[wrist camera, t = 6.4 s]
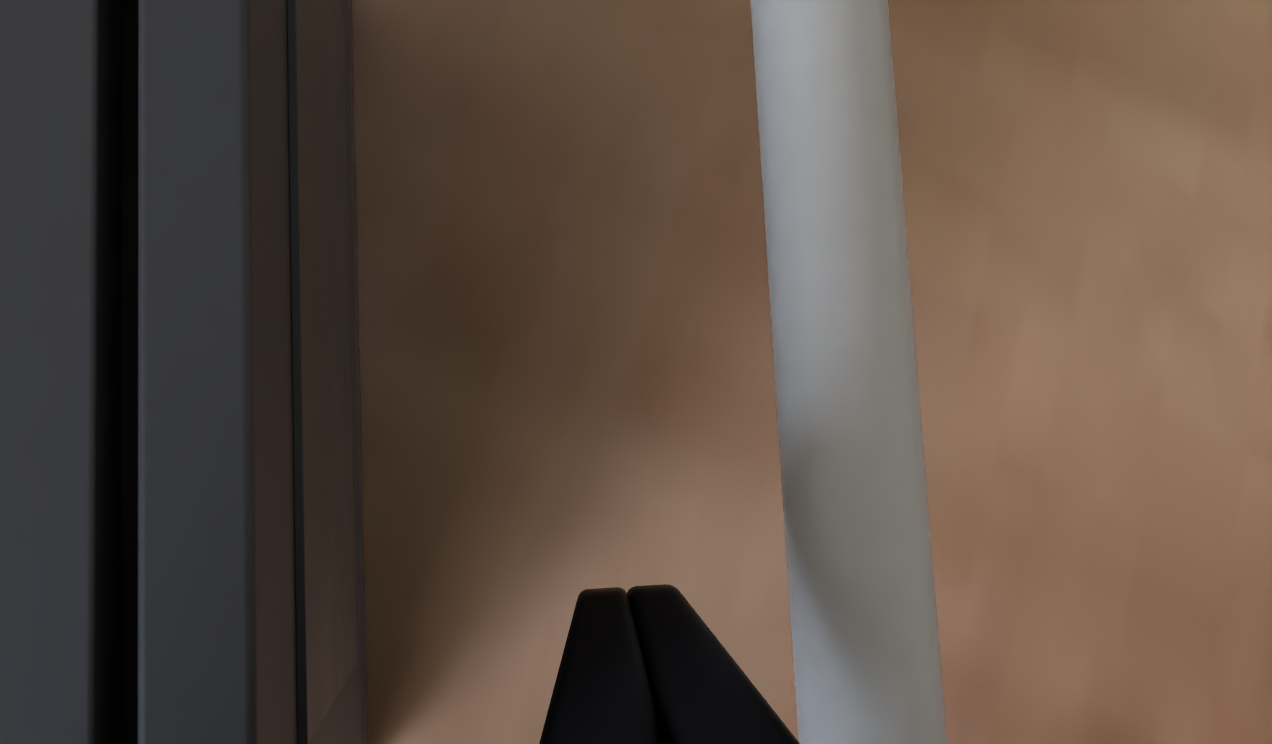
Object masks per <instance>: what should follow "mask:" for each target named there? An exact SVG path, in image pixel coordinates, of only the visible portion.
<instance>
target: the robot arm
mask: <svg viewBox="0 0 1272 744" xmlns="http://www.w3.org/2000/svg"><path fill="white" fill-rule="evenodd" d="M539 744H800V743H799V742H798V741H797V739H796V738H795V737H794V736H793V734H792V733H791V732H790V731H789V729H788V728H787V727H786V726H785V724H784V723H783V722H782V720H781V719H780V718H779V717H778V715H777V714H776V713H775V712H774V710H773V709H772V708H771V707H770V705H769V704H768V703H767V701H766V700H765V699H764V698H763V696H762V695H761V694H760V693H759V691H758V690H757V689H756V688H755V686H754V685H753V684H752V682H751V681H750V680H749V679H748V677H747V676H746V675H745V674H744V672H743V671H742V670H741V669H740V667H739V666H738V665H737V663H736V662H735V661H734V660H733V658H732V657H731V656H730V655H729V653H728V652H727V651H726V650H725V648H724V647H723V646H722V644H721V643H720V642H719V641H718V639H717V638H716V637H715V636H714V634H713V633H712V632H711V631H710V629H709V628H708V627H707V625H706V624H705V623H704V622H703V620H702V619H701V618H700V617H699V615H698V614H697V613H696V612H695V610H694V609H693V608H692V606H691V605H690V604H689V603H688V601H687V600H686V599H685V598H684V596H683V595H682V594H681V593H680V591H679V590H678V589H677V588H675V587H674V586H671V585H666V584H664V585H648V586H635V587H632V588H631V589H629V590H628V592H627V593H626V591H625V590H624V589H622V588H618V587H616V588H600V589H586V590H583V591H582V592H581V593H580V594H579V596H578V599H577V603H576V606H575V610H574V614H573V618H572V622H571V625H570V629H569V633H568V637H567V641H566V644H565V648H564V652H563V656H562V660H561V663H560V667H559V671H558V675H557V679H556V683H555V686H554V690H553V694H552V698H551V702H550V705H549V709H548V713H547V717H546V721H545V724H544V728H543V732H542V736H541V740H540V743H539Z"/></svg>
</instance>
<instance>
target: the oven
mask: <svg viewBox="0 0 1272 744" xmlns="http://www.w3.org/2000/svg"><path fill="white" fill-rule="evenodd" d="M346 23H347V70H348V117H349V164H350V211H351V258H352V305H353V352H354V399H355V446H356V493H357V540H358V588H359V635H360V682H361V729H362V744H368V713H367V667H366V621H365V576H364V530H363V484H362V439H361V393H360V347H359V302H358V256H357V210H356V165H355V119H354V73H353V28H352V0H346ZM0 744H138V0H0Z"/></svg>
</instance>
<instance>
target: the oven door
mask: <svg viewBox="0 0 1272 744" xmlns="http://www.w3.org/2000/svg"><path fill="white" fill-rule="evenodd" d="M750 1H751V17H752V32H753V48H754V63H755V79H756V94H757V109H758V125H759V140H760V156H761V171H762V186H763V202H764V217H765V233H766V248H767V264H768V279H769V294H770V310H771V325H772V341H773V356H774V371H775V387H776V402H777V418H778V433H779V449H780V464H781V479H782V495H783V510H784V526H785V541H786V556H787V572H788V587H789V603H790V618H791V633H792V649H793V664H794V680H795V695H796V711H797V726H798V741H799V743H800V744H947V736H946V724H945V711H944V699H943V686H942V674H941V661H940V648H939V636H938V623H937V611H936V598H935V586H934V573H933V561H932V548H931V536H930V523H929V510H928V498H927V485H926V473H925V460H924V448H923V435H922V423H921V410H920V398H919V385H918V372H917V360H916V347H915V335H914V322H913V310H912V297H911V285H910V272H909V259H908V247H907V234H906V222H905V209H904V197H903V184H902V172H901V159H900V147H899V134H898V121H897V109H896V96H895V84H894V71H893V59H892V46H891V34H890V21H889V9H888V0H750ZM138 744H362V729H361V682H360V635H359V588H358V540H357V493H356V446H355V399H354V352H353V305H352V258H351V211H350V164H349V117H348V70H347V23H346V0H138Z"/></svg>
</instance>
